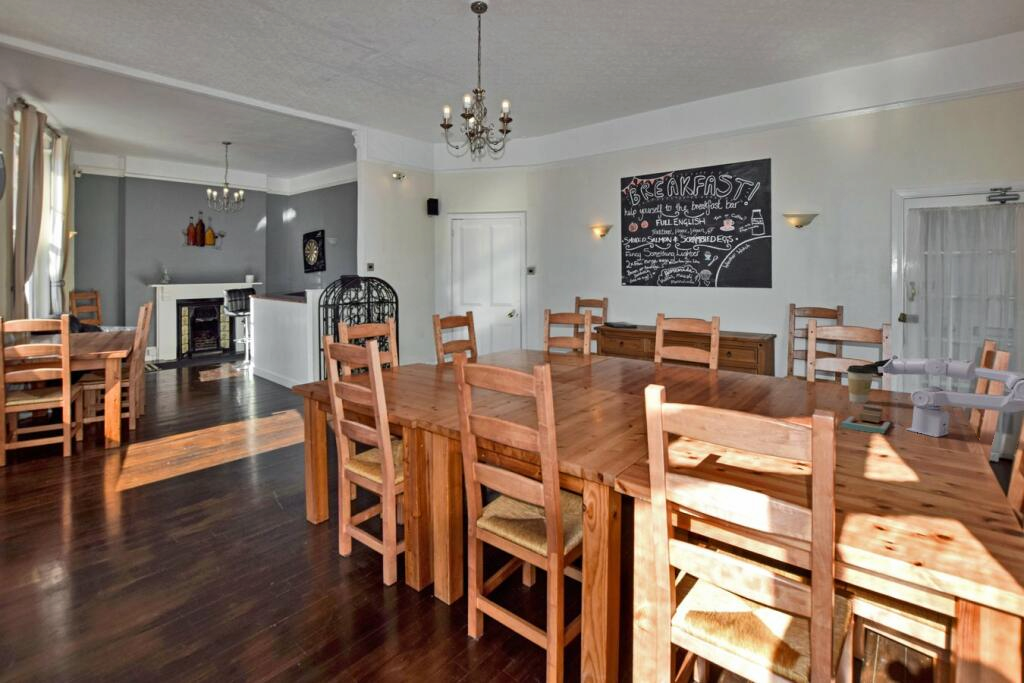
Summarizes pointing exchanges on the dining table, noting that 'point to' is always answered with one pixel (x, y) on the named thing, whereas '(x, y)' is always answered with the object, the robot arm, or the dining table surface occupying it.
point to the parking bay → (864, 426)
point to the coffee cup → (859, 383)
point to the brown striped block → (871, 414)
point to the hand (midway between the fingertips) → (869, 366)
